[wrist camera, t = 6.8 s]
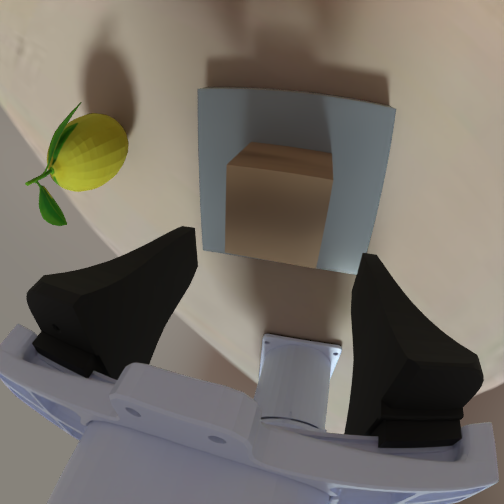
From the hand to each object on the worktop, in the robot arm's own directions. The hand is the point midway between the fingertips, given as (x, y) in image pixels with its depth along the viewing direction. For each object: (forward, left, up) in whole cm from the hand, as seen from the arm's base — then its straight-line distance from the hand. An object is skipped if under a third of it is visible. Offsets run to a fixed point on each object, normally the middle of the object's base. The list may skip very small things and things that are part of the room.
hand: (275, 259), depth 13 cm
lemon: (+2, +15, -10) cm, 18 cm away
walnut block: (0, +1, -8) cm, 8 cm away
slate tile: (0, +1, -10) cm, 10 cm away
